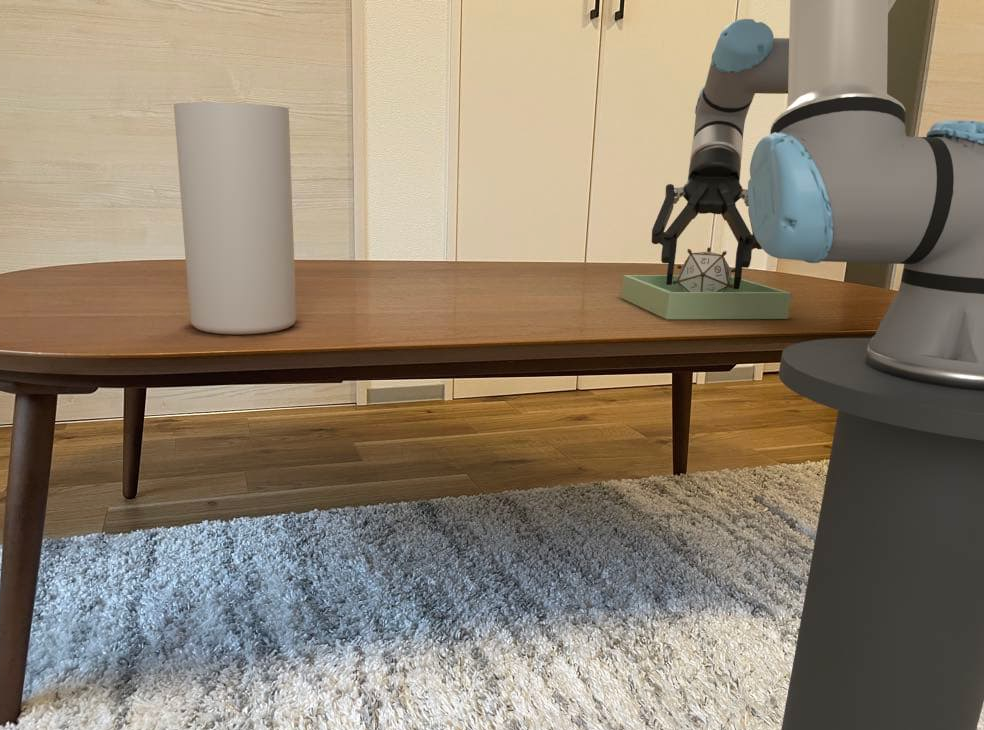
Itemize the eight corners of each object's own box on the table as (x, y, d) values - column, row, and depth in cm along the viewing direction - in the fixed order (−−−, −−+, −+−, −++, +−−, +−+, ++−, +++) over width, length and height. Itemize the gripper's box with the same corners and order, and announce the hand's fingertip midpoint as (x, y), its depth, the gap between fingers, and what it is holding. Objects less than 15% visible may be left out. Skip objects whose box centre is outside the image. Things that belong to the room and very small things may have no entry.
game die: (693, 325, 117) (703, 268, 120) (744, 314, 110) (752, 253, 113) (655, 299, 112) (666, 240, 115) (705, 285, 105) (716, 223, 108)
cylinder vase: (187, 337, 88) (168, 100, 80) (194, 317, 99) (178, 108, 92) (299, 334, 90) (291, 105, 83) (293, 315, 102) (286, 112, 95)
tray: (788, 319, 107) (792, 292, 106) (666, 319, 104) (669, 292, 103) (727, 298, 123) (730, 275, 122) (621, 298, 121) (623, 275, 120)
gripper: (785, 183, 120) (779, 302, 110) (644, 179, 126) (626, 292, 116) (794, 145, 113) (788, 268, 104) (645, 143, 119) (626, 260, 110)
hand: (703, 281), depth 110 cm, fingers closed on game die, 8 cm apart
